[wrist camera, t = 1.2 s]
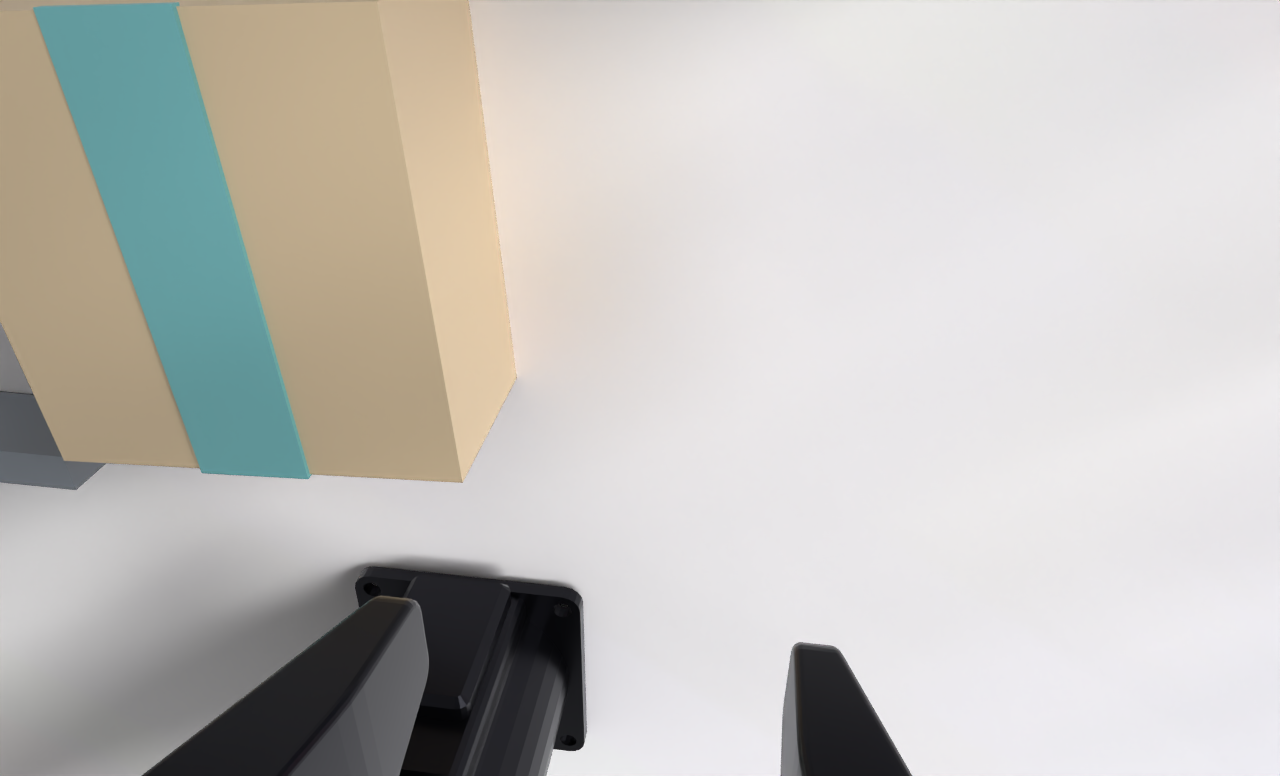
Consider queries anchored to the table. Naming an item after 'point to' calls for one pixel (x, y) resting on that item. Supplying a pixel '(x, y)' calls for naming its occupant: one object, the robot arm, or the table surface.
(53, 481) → the gray u-shaped frame
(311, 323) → the carton
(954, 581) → the table surface
